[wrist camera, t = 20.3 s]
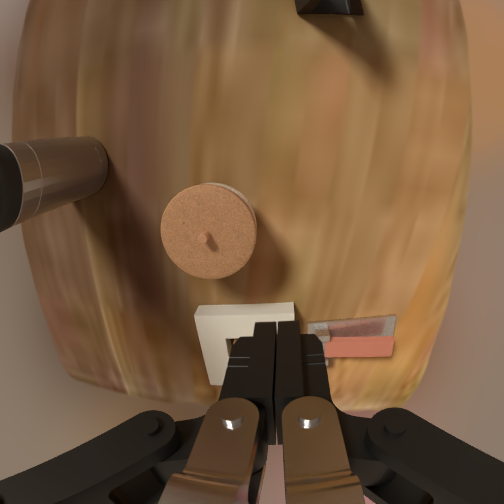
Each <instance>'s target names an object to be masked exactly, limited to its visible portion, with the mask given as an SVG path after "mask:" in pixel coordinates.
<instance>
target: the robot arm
mask: <svg viewBox="0 0 504 504" xmlns="http://www.w3.org/2000/svg"><path fill="white" fill-rule="evenodd" d="M107 173H108V159H107V154H106V152H105V149H104V148H103V146H102V145H101V143H100V142H99V141H97V140H96V139H94V138H92V137H88V136H85V137H62V138H49V139H37V140H28V141H19V142H12V143H4V144H0V232H2V231H4V230H6V229H8V228H10V227H12V226H14V225H17V224H19V223H21V222H24V221H26V220H28V219H30V218H33V217H35V216H38V215H40V214H43V213H45V212H48V211H50V210H53V209H55V208H58V207H61V206H63V205H66V204H69V203H71V202H74V201H77V200H80V199H83V198H86V197H88V196H91V195H93V194H95V193H96V192H98V191H99V190H100V189H101V187H102V186H103V184H104V182H105V180H106V177H107ZM276 428H277V438H278V445H279V444H283V462H284V480H285V499H286V504H365V500H364V495H365V496H366V497H368V498H369V499H370V500H372V501H373V502H374V503H376V504H504V462H502V461H500V460H498V459H496V458H494V457H492V456H490V455H488V454H486V453H484V452H482V451H480V450H478V449H477V448H475V447H473V446H471V445H469V444H467V443H465V442H463V441H462V440H460V439H458V438H456V437H454V436H452V435H451V434H449V433H447V432H445V431H443V430H442V429H440V428H438V427H436V426H435V425H433V424H431V423H429V422H428V421H426V420H424V419H422V418H421V417H419V416H417V415H415V414H414V413H412V412H410V411H408V410H405V409H403V408H387V409H384V410H381V411H379V412H378V413H376V414H375V415H374V416H373V417H372V418H364V417H356V416H351V415H348V414H346V413H344V412H342V411H340V410H339V409H338V408H337V407H336V406H335V405H334V404H333V402H332V399H331V395H330V388H329V381H328V375H327V368H326V363H325V356H324V350H323V344H322V342H321V340H320V339H319V338H318V337H317V336H316V335H315V334H300V330H299V320H293V321H278V330H277V323H276V321H273V322H255V325H254V332H253V336H245V337H239V339H238V340H237V341H236V342H235V343H234V344H233V345H232V348H231V352H230V358H229V361H228V365H227V369H226V373H225V377H224V381H223V385H222V389H221V393H220V397H219V401H218V402H216V403H214V404H213V405H212V406H211V407H210V408H209V409H208V410H207V412H206V415H204V416H201V417H199V418H195V419H190V420H184V421H176V422H174V420H173V419H172V417H170V416H169V415H168V414H166V413H164V412H162V411H156V410H151V411H145V412H142V413H140V414H138V415H136V416H134V417H132V418H130V419H129V420H127V421H125V422H123V423H121V424H120V425H118V426H116V427H114V428H112V429H110V430H109V431H107V432H105V433H103V434H101V435H99V436H97V437H95V438H93V439H92V440H90V441H88V442H86V443H84V444H82V445H80V446H78V447H76V448H74V449H72V450H70V451H68V452H66V453H63V454H62V455H59V456H57V457H55V458H53V459H51V460H48V461H46V462H44V463H42V464H40V465H37V466H35V467H33V468H30V469H28V470H26V471H23V472H21V473H18V474H16V475H14V476H11V477H8V478H6V479H3V480H1V481H0V504H259V500H260V494H261V489H262V484H263V479H264V473H265V468H266V460H267V452H268V445H275V444H276ZM363 494H364V495H363Z"/></svg>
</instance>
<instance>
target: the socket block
mask: <svg viewBox="0 0 504 504" xmlns="http://www.w3.org/2000/svg"><path fill="white" fill-rule="evenodd" d="M194 318H195V323H196V327H197V332H198V336H199V340H200V345H201V349H202V353H203V357H204V361H205V365H206V369H207V373H208V377H209V381H210V385H223V381H224V377H225V373H226V369H227V365H228V361H229V358H230V352H231V348H232V345H231V339H230V338H239V337H245V336H253V332H254V325H255V322H273V321H276V323H277V330H278V321H293V320H294V302H285V303H263V304H232V305H199V306H198V308H197V310H196V312H195V315H194Z"/></svg>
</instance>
